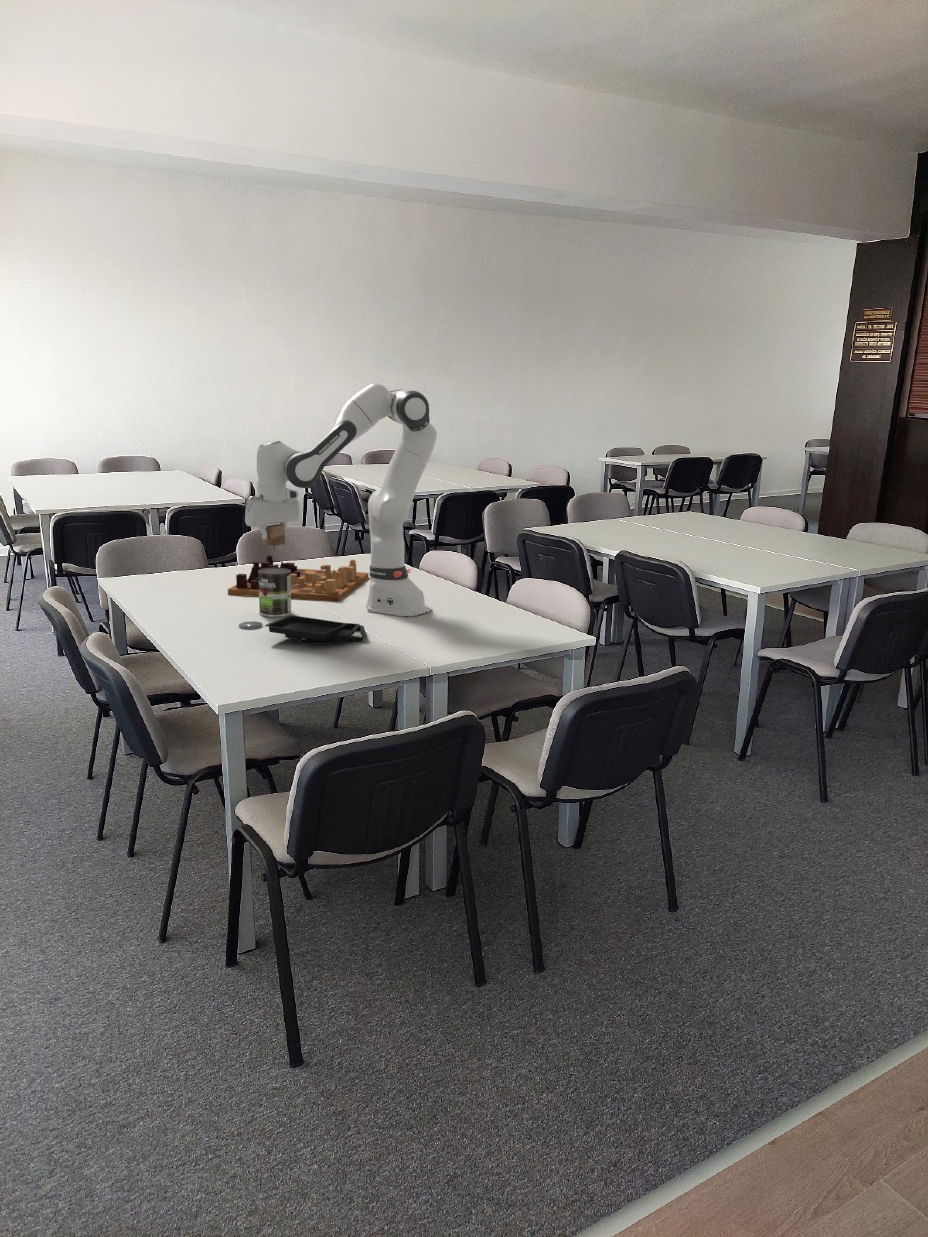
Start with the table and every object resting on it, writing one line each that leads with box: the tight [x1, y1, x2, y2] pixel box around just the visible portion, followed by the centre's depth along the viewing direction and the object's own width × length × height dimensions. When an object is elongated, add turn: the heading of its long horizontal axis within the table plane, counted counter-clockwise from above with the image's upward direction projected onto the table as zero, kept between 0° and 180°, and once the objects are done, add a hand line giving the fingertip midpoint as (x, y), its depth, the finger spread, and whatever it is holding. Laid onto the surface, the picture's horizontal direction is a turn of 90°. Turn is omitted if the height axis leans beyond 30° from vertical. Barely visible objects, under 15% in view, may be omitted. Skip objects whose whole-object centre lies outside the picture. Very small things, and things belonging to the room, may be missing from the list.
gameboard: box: [227, 554, 370, 602], centre depth 328 cm, size 40×40×9 cm
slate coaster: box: [238, 620, 263, 630], centre depth 273 cm, size 7×7×1 cm
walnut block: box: [261, 523, 286, 547], centre depth 283 cm, size 5×5×6 cm
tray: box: [265, 615, 368, 645], centre depth 260 cm, size 30×23×5 cm
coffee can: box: [258, 567, 292, 618], centre depth 288 cm, size 10×10×14 cm
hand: (273, 537), depth 283 cm, fingers closed on walnut block, 5 cm apart
